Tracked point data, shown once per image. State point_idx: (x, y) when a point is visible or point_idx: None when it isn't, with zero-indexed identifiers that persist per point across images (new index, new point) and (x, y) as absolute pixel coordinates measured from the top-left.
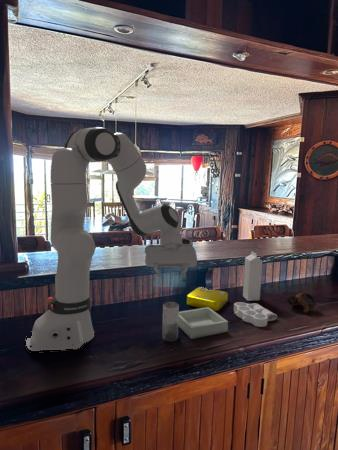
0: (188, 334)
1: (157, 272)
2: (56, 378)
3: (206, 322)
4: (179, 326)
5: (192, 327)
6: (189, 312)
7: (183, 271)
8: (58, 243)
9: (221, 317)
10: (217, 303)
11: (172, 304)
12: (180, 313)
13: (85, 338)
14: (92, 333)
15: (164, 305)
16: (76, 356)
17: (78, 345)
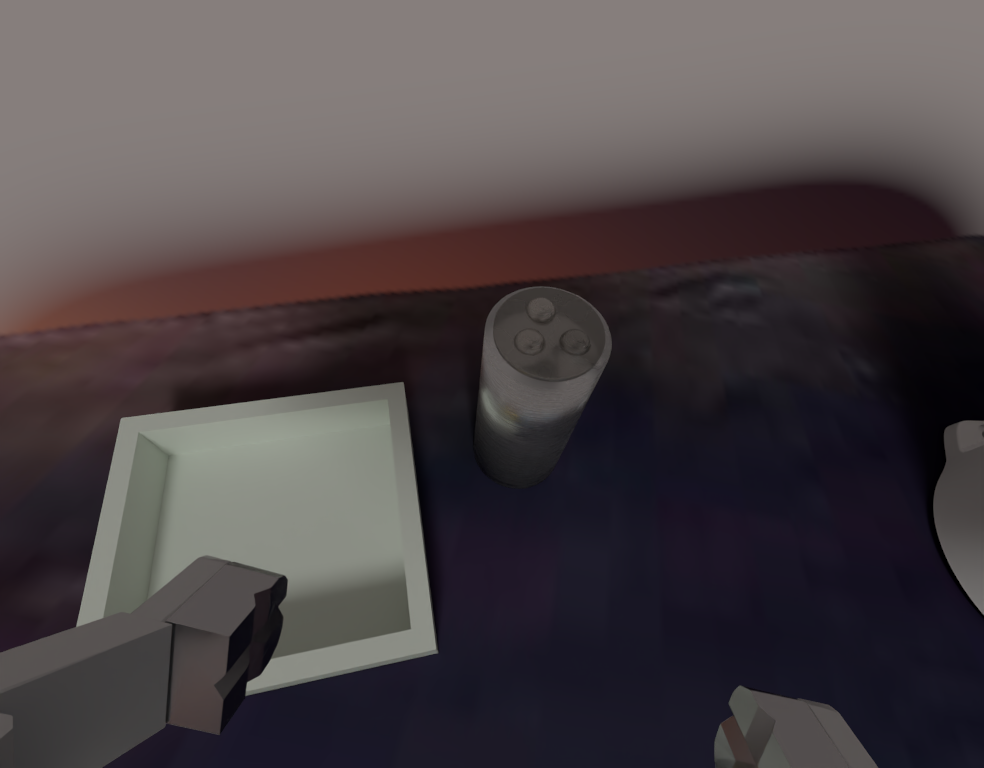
0: (411, 438)
1: (845, 735)
2: (920, 278)
3: None
4: (426, 559)
5: (394, 388)
6: (298, 655)
7: (202, 609)
8: None
9: (116, 482)
10: None
11: (544, 300)
12: (388, 635)
13: (966, 463)
14: (959, 520)
15: (602, 328)
16: (924, 378)
17: (964, 423)
